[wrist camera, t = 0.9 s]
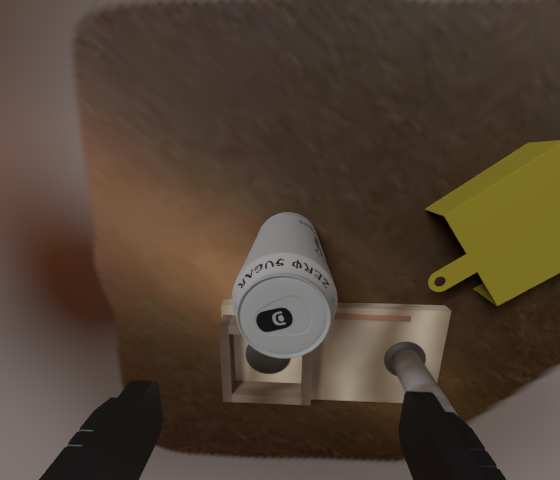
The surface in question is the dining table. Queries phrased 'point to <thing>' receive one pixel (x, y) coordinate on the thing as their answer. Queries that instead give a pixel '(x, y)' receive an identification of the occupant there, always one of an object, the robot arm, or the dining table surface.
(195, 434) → the dining table surface
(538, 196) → the bracket
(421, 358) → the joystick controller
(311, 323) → the energy drink can
